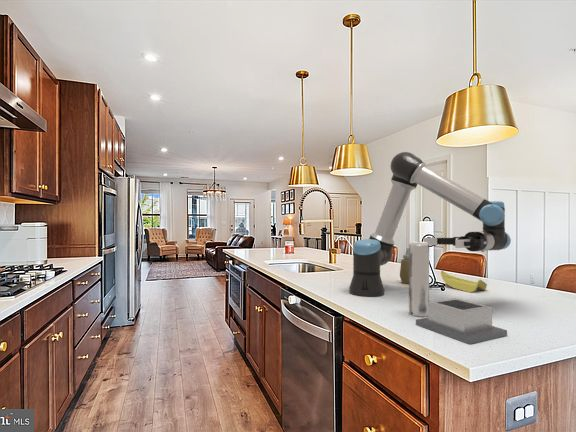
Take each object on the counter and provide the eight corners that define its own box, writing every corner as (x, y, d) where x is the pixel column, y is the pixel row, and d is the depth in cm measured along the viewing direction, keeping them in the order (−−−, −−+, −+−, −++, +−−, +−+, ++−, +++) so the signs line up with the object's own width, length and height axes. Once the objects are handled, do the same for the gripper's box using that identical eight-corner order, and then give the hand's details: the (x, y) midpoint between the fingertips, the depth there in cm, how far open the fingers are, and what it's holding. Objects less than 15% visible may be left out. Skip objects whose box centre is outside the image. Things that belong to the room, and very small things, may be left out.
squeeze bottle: (416, 282, 173) (416, 248, 173) (415, 285, 166) (415, 249, 166) (400, 281, 176) (400, 247, 177) (398, 283, 169) (399, 248, 169)
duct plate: (415, 324, 103) (415, 300, 103) (451, 318, 110) (451, 295, 110) (469, 344, 86) (469, 315, 86) (507, 335, 93) (507, 309, 93)
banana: (489, 285, 155) (478, 278, 150) (484, 300, 153) (473, 293, 148) (449, 276, 172) (439, 269, 167) (444, 289, 170) (434, 282, 165)
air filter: (430, 317, 110) (431, 242, 111) (410, 316, 112) (410, 242, 112) (426, 312, 117) (427, 241, 117) (407, 311, 118) (407, 240, 118)
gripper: (511, 253, 116) (472, 256, 107) (449, 248, 139) (412, 250, 130) (511, 232, 117) (471, 233, 107) (449, 230, 139) (412, 231, 130)
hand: (439, 242), depth 119 cm, fingers open, 13 cm apart
